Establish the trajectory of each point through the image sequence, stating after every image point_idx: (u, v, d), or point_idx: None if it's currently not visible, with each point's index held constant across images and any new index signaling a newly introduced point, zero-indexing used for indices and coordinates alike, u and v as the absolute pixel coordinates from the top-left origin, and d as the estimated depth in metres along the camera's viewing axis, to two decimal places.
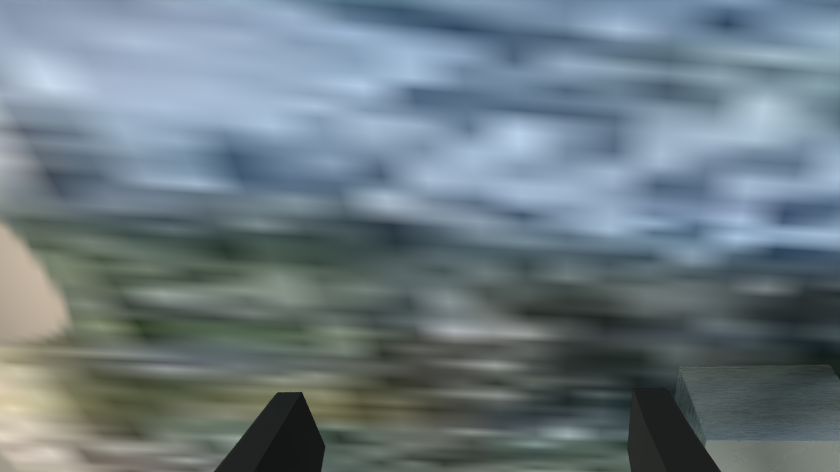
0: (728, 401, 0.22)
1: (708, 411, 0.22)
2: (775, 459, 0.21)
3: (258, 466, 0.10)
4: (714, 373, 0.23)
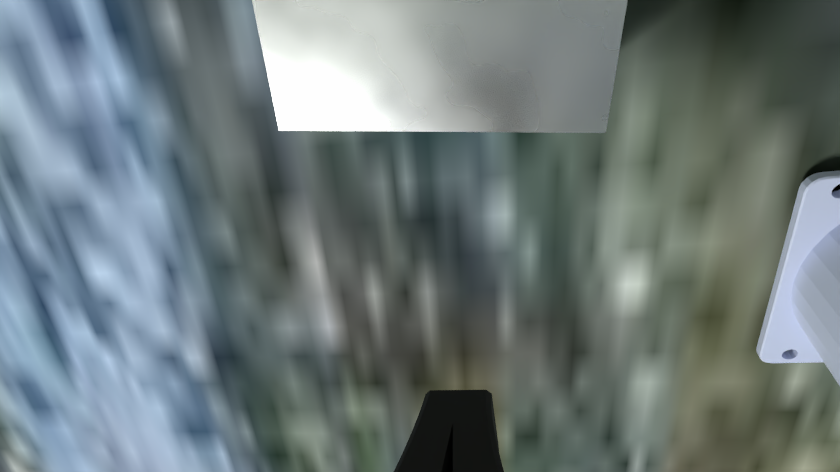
0: None
1: None
2: (308, 18, 0.12)
3: (442, 469, 0.09)
4: None
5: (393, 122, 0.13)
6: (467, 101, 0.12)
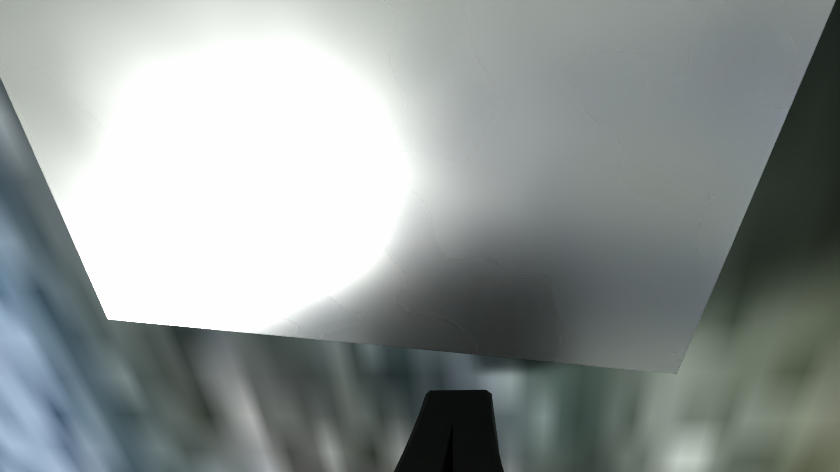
0: None
1: None
2: (131, 159, 0.06)
3: (442, 469, 0.09)
4: None
5: (302, 325, 0.07)
6: (435, 309, 0.07)
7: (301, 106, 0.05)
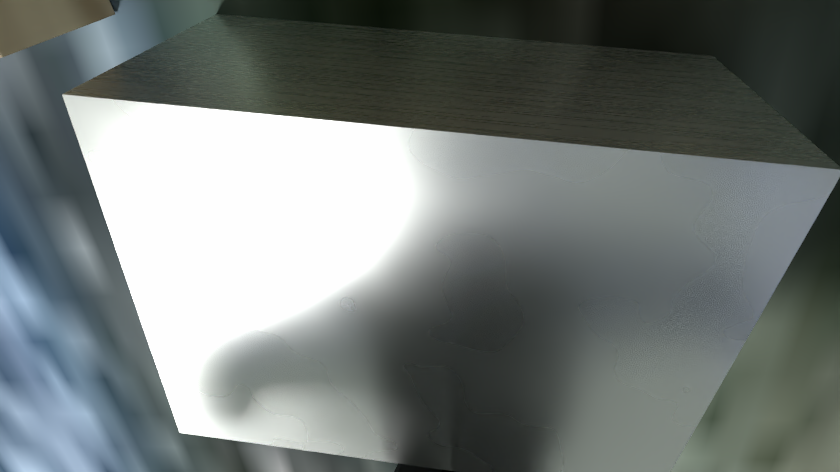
0: None
1: None
2: (222, 330, 0.08)
3: None
4: None
5: (347, 448, 0.09)
6: (460, 444, 0.08)
7: (368, 309, 0.07)
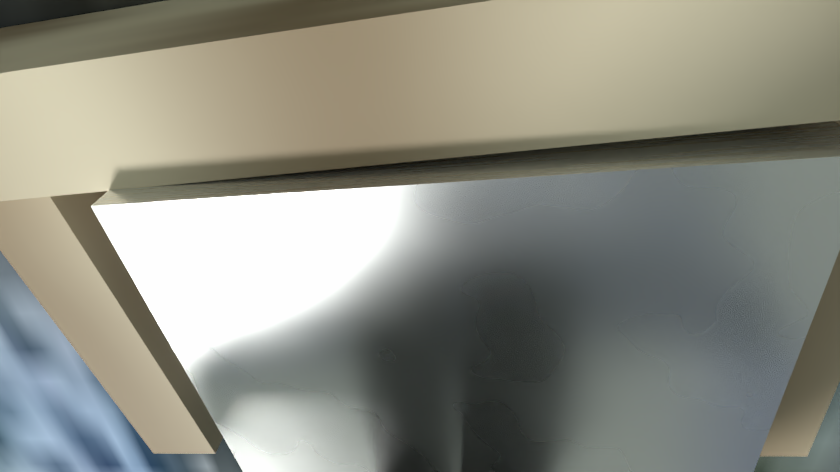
0: None
1: None
2: (274, 394, 0.08)
3: None
4: None
5: None
6: None
7: (407, 358, 0.07)
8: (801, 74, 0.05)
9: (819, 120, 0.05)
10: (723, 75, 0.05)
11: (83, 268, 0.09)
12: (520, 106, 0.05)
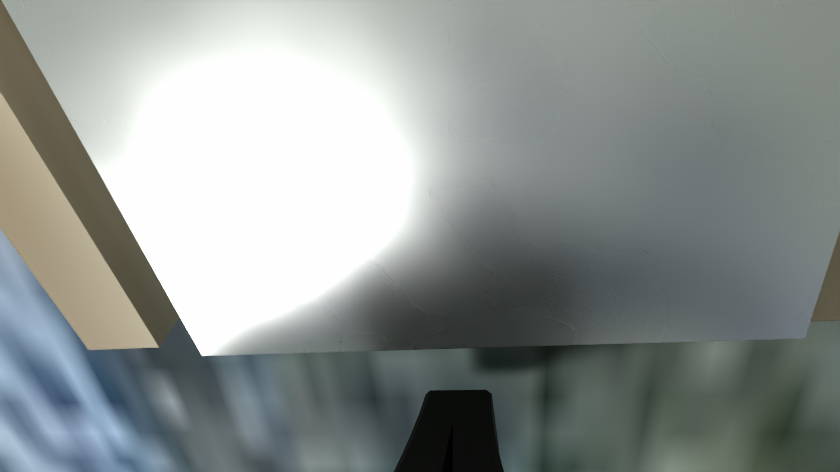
0: None
1: None
2: (207, 193, 0.06)
3: (442, 469, 0.09)
4: None
5: (391, 337, 0.07)
6: (526, 303, 0.07)
7: (364, 113, 0.05)
8: None
9: None
10: None
11: None
12: None
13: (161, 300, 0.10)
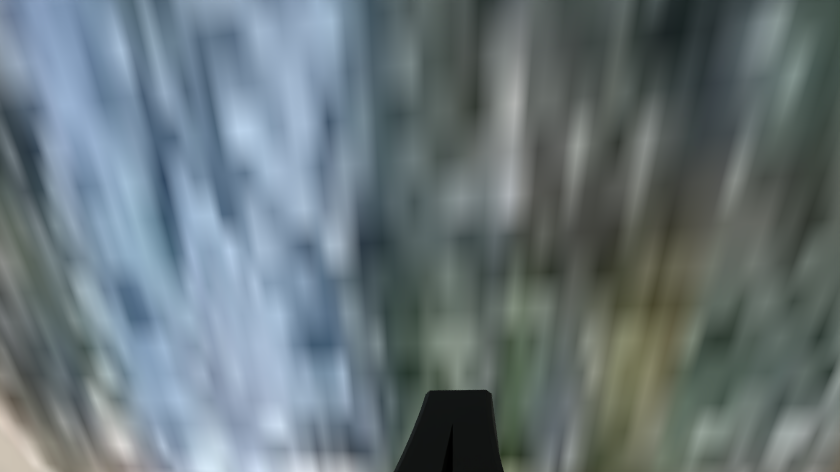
0: None
1: None
2: None
3: (442, 469, 0.09)
4: None
5: None
6: None
7: None
8: None
9: None
10: None
11: None
12: None
13: None
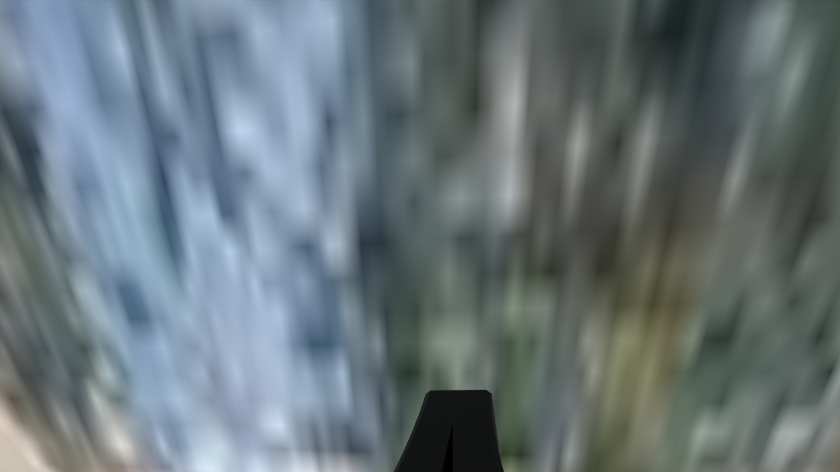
0: None
1: None
2: None
3: (442, 469, 0.09)
4: None
5: None
6: None
7: None
8: None
9: None
10: None
11: None
12: None
13: None
